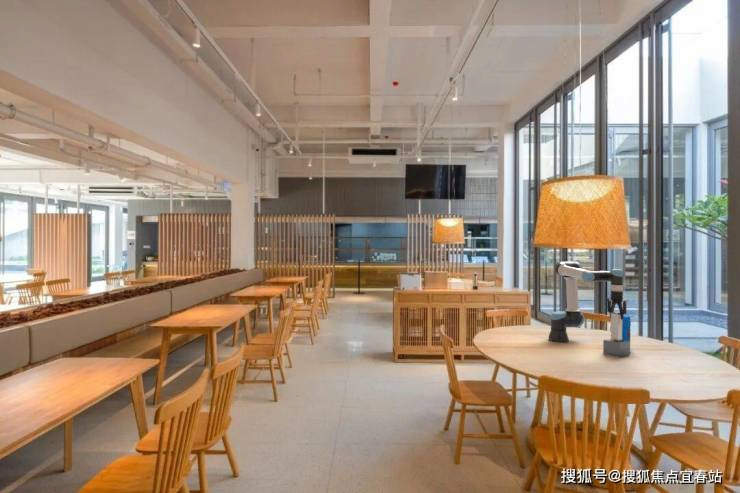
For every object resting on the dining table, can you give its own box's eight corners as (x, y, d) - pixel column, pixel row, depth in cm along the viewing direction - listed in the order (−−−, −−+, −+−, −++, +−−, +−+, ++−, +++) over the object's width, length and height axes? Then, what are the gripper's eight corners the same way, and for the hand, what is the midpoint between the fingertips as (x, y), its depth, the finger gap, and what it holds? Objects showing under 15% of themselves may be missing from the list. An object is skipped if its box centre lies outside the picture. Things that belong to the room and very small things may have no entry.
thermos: (625, 347, 318) (625, 314, 318) (633, 350, 307) (633, 317, 307) (610, 346, 319) (611, 314, 319) (617, 350, 309) (617, 317, 308)
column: (610, 342, 299) (610, 311, 298) (614, 341, 302) (615, 311, 301) (617, 344, 294) (617, 313, 294) (622, 343, 297) (622, 312, 297)
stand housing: (603, 353, 300) (603, 338, 300) (613, 351, 306) (613, 336, 306) (620, 357, 290) (620, 341, 290) (629, 355, 296) (629, 339, 295)
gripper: (601, 289, 303) (601, 321, 304) (626, 292, 288) (626, 325, 288) (607, 289, 307) (607, 320, 307) (632, 291, 291) (632, 324, 292)
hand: (616, 322), depth 298 cm, fingers closed on column, 5 cm apart
